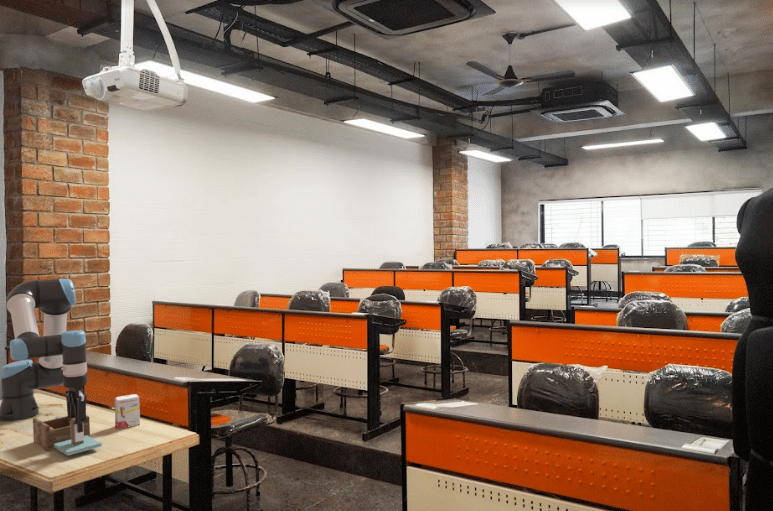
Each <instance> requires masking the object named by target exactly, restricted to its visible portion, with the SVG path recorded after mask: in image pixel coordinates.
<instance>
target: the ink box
mask: <svg viewBox="0 0 773 511" xmlns="http://www.w3.org/2000/svg"><path fill="white" fill-rule="evenodd" d="M114 421H115V422H114V426H115V427H116V428H117V429H118V430H121V428H122V429H126V428H125V427H127V428H129V427H128V426H132V425H136V426H139V425H138V424H140V425H141V410H140V396H139V394H136V393H135V394H128V395H121V396H117V397H115V398H114ZM132 427H133V426H132Z"/></svg>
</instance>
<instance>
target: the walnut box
mask: <svg viewBox="0 0 773 511" xmlns="http://www.w3.org/2000/svg"><path fill="white" fill-rule="evenodd" d="M70 422H71V421H70V418H68V415H66V416H60V418H57V419H55V418H52V419H49V420H44V421H41V420H40V419H38V418H36V417H34V418H32V429H33V433H32V434H33V443H34V444H35V445H37V446H38V447H40V448H42V449H43V450H45V451H47V452H52V451H56V450H57V449H56V448H55V447H54V444H55V443H59V442H63V441H67V440H71V424H70ZM90 423H91V422H90V416H89V415H87V414H86V421H85V422H83V428H84V436H86V435H87V436H89V437H91V427H90V426H91V425H90Z"/></svg>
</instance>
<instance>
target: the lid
mask: <svg viewBox="0 0 773 511" xmlns="http://www.w3.org/2000/svg"><path fill="white" fill-rule="evenodd" d="M74 422H75V418H71V440H67V441H63V442H59V443H55V444H54V447H55V448H56V450H58V451H59V452H61V453H63V454H64V455H66V456H71V455H75V454H79V453H82V452H86V451H90V450H92V449H96V448H97V449H98V448H100V447H102V442H101V441H99V440H96V438H93V437H91V436H90V437H89V436H87V435H86V436H84V440H82V441H79V442H75V427H74V424H73V423H74Z"/></svg>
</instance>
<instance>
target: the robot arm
mask: <svg viewBox="0 0 773 511" xmlns="http://www.w3.org/2000/svg"><path fill="white" fill-rule="evenodd" d="M5 304H6V309H7V311H8V312H9V313H10V316H11V322H12V323H11V324H12V329H13V334H14V339H11V340H10V341H9V351H10V352H9V353H10V359H11V360H13V362H10V363H8V364H7V363H6V364H5V365H3V366H2V367H1V369H0V381H1V402H0V421H2V422H3V421H7V422H8V421H18V420H22V419H27V418H31V417H34V416H37V415H38V414H39V412H40V407H39V405H38V402H37V400H36V398H35V395H34V390H38V389H44V388H45V389H46V388H52V387H61V386H63V387H64V388H67V389H68V390H67V389H66V390H65V392H64V393H65V399H66V411H67V415H66V416H68V418H70V421H71V418H75V422H74V423H73V424H74V427H75V442H79V441H82V440H84V428H83V422H85V421H86V415H87V398H88V397H87V394H85V392H84V389H83V387H84V386H86V385H87V384H88V375H87V373H88V363H87V362H88V361H87V345H86V344H87V338H86V331H84V330H80V329H79V330H67V326H68V325H67V324H68V323H67V322H68V314H69V313H70V312H71V311H72V307H74V306H76V305H77V297H76V291H75V287H74V283H73V281H72V280H71V279H70V278H58V279H57V278H56V279H55V278H54V279H36V280H35V279H32V280H26V281H24V282H21V283H19V284H17V285H16V286H14V288H12V290H10V292H9V294H8V295H7V297H6V300H5ZM34 309H39V311H40V312H41V313H42V314H43V336H40V333H39V328H38V324H37V323H38V322H37V319H36V314H35V310H34ZM34 359H38V361H36V362H33V360H34ZM70 424H71V422H70Z"/></svg>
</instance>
